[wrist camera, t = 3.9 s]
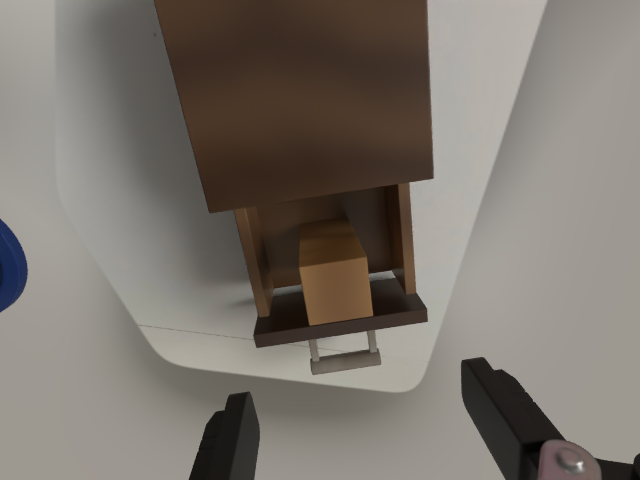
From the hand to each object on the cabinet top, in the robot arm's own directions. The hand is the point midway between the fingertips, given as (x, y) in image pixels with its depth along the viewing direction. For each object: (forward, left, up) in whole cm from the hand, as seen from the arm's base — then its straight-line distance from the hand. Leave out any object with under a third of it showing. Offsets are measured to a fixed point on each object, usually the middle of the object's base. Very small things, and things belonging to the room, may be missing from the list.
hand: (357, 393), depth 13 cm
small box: (0, 0, -17) cm, 17 cm away
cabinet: (0, +13, -19) cm, 23 cm away
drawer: (0, -1, -18) cm, 18 cm away
